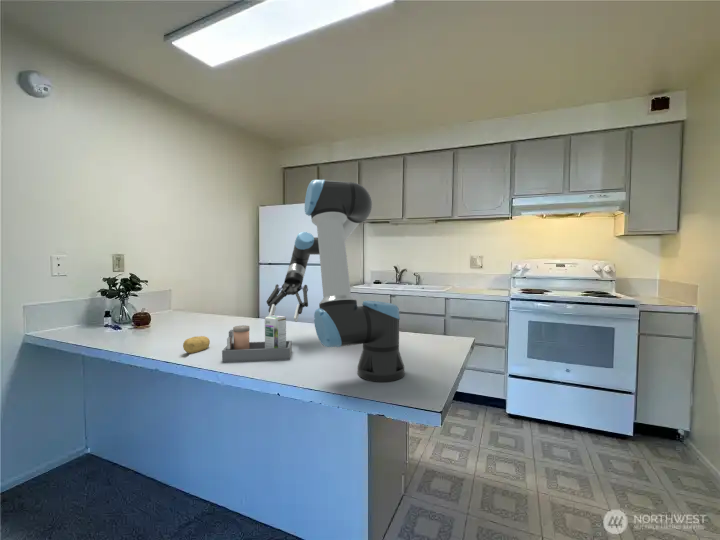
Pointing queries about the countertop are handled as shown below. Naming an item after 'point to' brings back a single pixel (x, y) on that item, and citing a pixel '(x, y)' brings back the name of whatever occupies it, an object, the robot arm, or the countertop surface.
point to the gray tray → (257, 353)
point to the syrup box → (275, 332)
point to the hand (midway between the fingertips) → (282, 319)
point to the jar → (241, 337)
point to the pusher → (230, 340)
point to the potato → (196, 344)
